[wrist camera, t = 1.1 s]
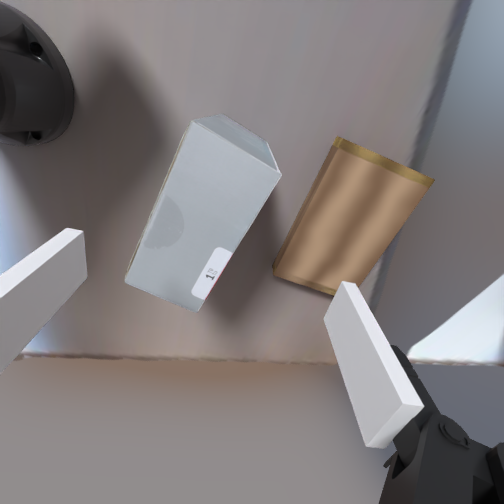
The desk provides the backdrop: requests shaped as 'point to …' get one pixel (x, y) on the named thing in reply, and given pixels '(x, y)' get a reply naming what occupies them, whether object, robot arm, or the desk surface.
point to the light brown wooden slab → (348, 218)
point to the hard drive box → (202, 211)
